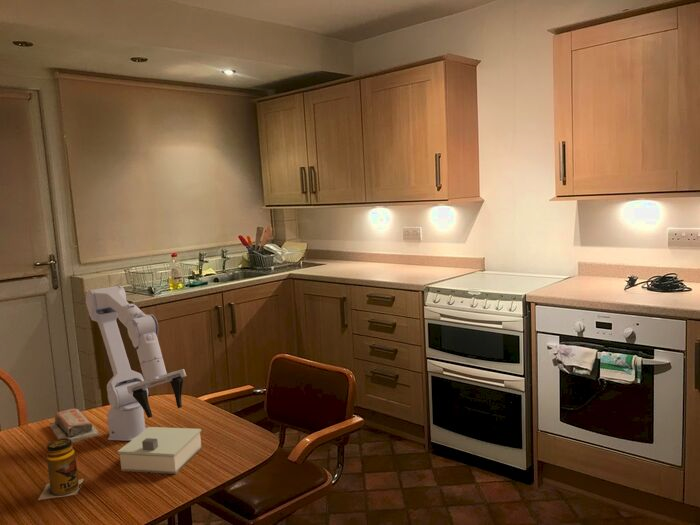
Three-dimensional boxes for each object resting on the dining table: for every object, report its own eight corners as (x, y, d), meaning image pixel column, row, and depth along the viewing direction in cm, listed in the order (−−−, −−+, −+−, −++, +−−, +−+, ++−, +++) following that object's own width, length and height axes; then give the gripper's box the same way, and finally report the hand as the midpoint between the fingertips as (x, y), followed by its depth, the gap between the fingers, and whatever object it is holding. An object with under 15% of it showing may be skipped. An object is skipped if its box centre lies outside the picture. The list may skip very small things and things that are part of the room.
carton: (121, 471, 146) (119, 454, 145) (151, 445, 159) (149, 430, 159) (175, 474, 143) (174, 456, 142) (201, 448, 156) (200, 432, 156)
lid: (117, 453, 145) (116, 443, 144) (149, 428, 159) (148, 419, 159) (174, 456, 142) (173, 445, 141) (201, 430, 156) (200, 421, 155)
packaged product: (47, 413, 176) (81, 404, 182) (49, 428, 177) (83, 418, 183) (61, 430, 162) (98, 420, 168) (63, 447, 163) (100, 436, 169)
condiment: (77, 494, 135) (70, 446, 134) (37, 501, 134) (31, 452, 132) (83, 479, 143) (78, 433, 141) (46, 485, 141) (40, 438, 139)
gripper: (118, 369, 145) (132, 423, 143) (176, 352, 147) (190, 404, 145) (126, 370, 151) (139, 420, 149) (181, 353, 154) (195, 402, 152)
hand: (165, 412), depth 148 cm, fingers open, 7 cm apart
